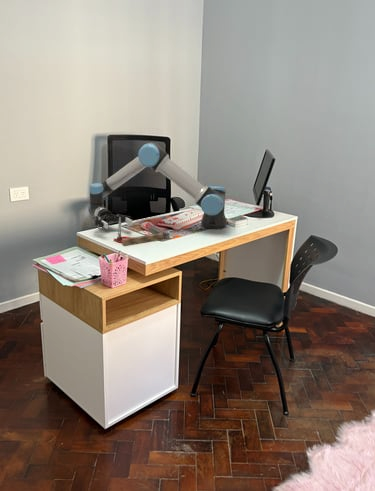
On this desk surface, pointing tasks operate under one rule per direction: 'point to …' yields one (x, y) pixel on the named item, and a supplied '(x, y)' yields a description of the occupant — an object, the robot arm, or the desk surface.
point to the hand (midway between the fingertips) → (119, 224)
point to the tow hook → (119, 238)
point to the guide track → (147, 236)
